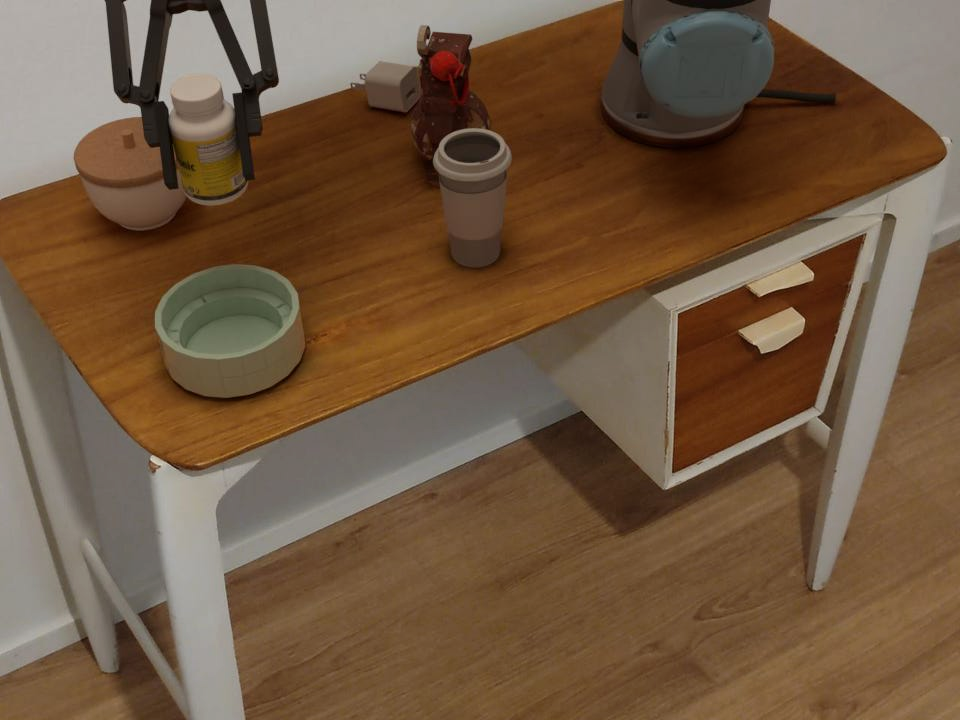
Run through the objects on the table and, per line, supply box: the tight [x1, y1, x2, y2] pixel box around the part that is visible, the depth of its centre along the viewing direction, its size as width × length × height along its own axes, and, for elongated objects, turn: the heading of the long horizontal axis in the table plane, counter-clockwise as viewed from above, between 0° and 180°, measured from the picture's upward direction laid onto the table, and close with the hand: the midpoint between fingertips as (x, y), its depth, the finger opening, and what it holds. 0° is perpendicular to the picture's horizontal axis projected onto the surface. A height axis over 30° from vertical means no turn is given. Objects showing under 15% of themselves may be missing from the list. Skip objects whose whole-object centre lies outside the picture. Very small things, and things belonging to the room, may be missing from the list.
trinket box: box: [73, 116, 188, 232], centre depth 126 cm, size 11×11×9 cm
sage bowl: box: [154, 263, 306, 399], centre depth 112 cm, size 12×12×5 cm
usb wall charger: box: [349, 60, 422, 113], centre depth 142 cm, size 4×7×4 cm, turn 64°
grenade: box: [410, 24, 492, 188], centre depth 129 cm, size 9×8×15 cm
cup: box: [433, 128, 513, 269], centre depth 119 cm, size 7×7×12 cm
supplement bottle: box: [168, 72, 249, 207], centre depth 105 cm, size 5×5×10 cm
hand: (210, 181), depth 103 cm, fingers closed on supplement bottle, 5 cm apart
